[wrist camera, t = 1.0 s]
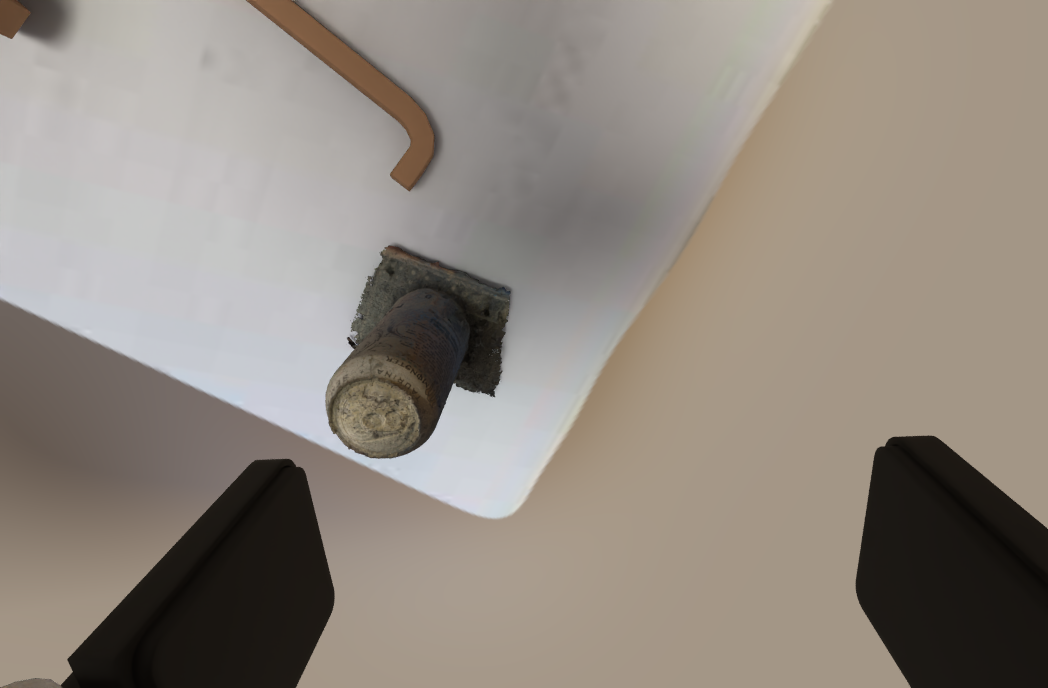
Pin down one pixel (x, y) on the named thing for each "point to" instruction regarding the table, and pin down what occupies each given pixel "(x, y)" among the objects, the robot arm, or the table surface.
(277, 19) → the toilet paper hanger
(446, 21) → the table surface
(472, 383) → the small column statue
